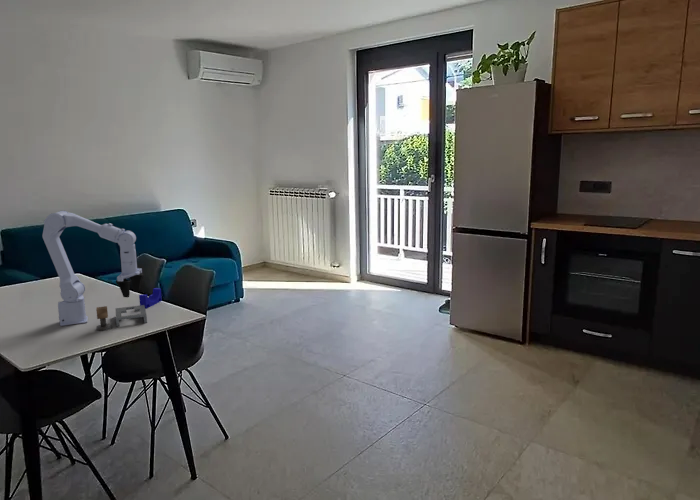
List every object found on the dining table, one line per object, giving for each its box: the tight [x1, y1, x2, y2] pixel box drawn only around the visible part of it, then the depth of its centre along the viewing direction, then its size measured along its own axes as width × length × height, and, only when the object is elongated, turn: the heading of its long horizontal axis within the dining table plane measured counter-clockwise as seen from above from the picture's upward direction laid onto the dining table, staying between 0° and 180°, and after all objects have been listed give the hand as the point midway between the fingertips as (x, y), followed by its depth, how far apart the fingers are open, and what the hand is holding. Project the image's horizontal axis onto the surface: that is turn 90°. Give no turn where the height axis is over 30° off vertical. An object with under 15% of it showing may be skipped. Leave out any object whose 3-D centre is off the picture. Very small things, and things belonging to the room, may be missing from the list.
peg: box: [95, 305, 112, 332], centre depth 193 cm, size 5×5×8 cm
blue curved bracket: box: [138, 287, 163, 310], centre depth 224 cm, size 12×4×6 cm, turn 169°
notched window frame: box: [115, 304, 148, 328], centre depth 204 cm, size 11×14×3 cm
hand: (131, 294), depth 205 cm, fingers open, 7 cm apart
